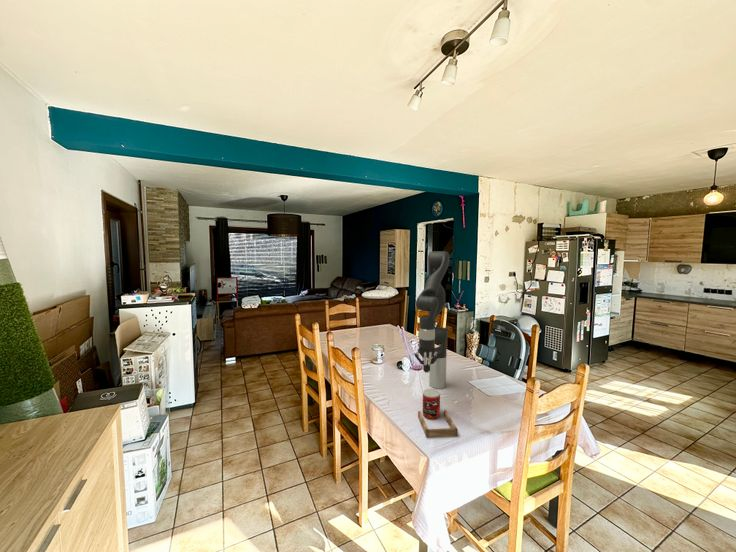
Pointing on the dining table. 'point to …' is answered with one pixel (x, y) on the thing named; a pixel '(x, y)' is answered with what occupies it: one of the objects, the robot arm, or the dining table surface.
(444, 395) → the dining table surface
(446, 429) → the corral
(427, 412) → the canned food
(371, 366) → the dining table surface
